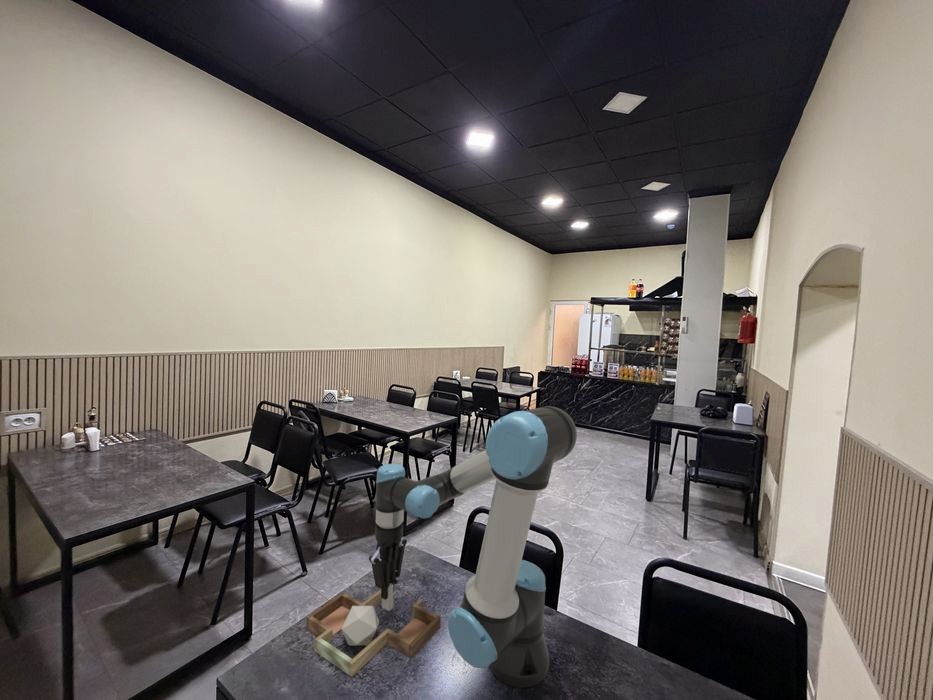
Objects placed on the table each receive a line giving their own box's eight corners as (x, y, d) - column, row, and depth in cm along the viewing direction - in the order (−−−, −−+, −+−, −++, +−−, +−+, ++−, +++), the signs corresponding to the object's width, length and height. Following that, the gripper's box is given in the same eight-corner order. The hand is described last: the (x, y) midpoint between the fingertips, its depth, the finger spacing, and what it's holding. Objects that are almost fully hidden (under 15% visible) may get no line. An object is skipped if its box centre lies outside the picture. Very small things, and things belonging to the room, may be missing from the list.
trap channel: (445, 622, 105) (446, 611, 105) (377, 695, 83) (378, 681, 83) (369, 583, 120) (369, 573, 120) (294, 636, 98) (294, 625, 98)
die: (359, 664, 91) (385, 621, 94) (329, 641, 92) (355, 600, 96) (366, 649, 99) (389, 611, 103) (338, 628, 100) (361, 590, 104)
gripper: (395, 510, 113) (392, 589, 113) (361, 528, 101) (359, 616, 102) (415, 517, 109) (412, 599, 109) (383, 536, 98) (380, 627, 98)
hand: (387, 607), depth 105 cm, fingers closed
